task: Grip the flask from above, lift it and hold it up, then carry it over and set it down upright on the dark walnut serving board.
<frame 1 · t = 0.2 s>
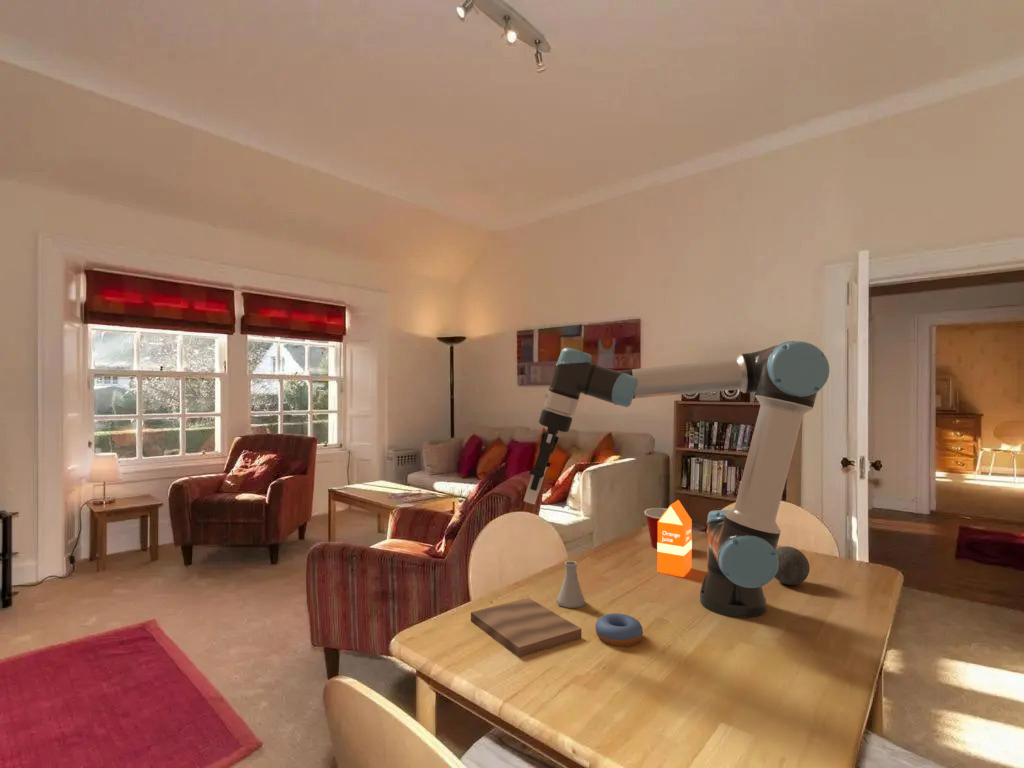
hand: (531, 496, 132), 27 cm above the table, tool tilted 15°, fingers open, 13 cm apart
orange juice: (674, 571, 160), on the table
flask: (571, 604, 136), on the table
walnut board: (524, 629, 121), on the table
doughnut: (618, 639, 117), on the table
decorative ball: (788, 584, 150), on the table
plastic cup: (660, 548, 183), on the table
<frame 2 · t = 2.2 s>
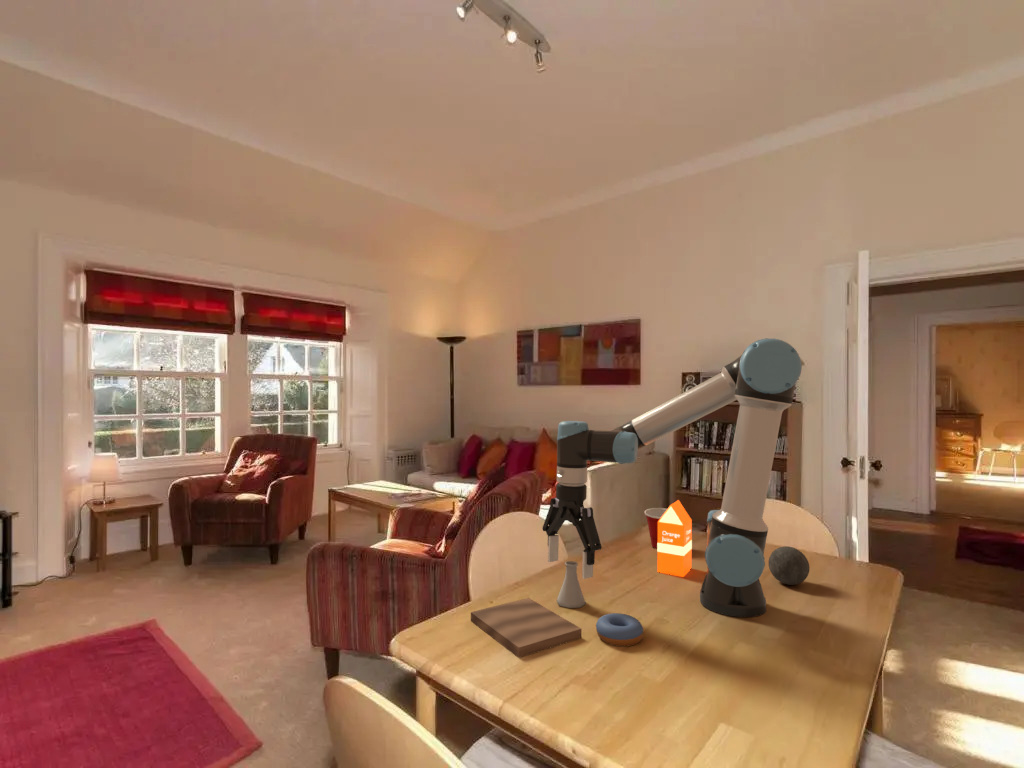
hand: (569, 569, 136), 8 cm above the table, tool pointing down, fingers open, 13 cm apart
nothing on the table moved.
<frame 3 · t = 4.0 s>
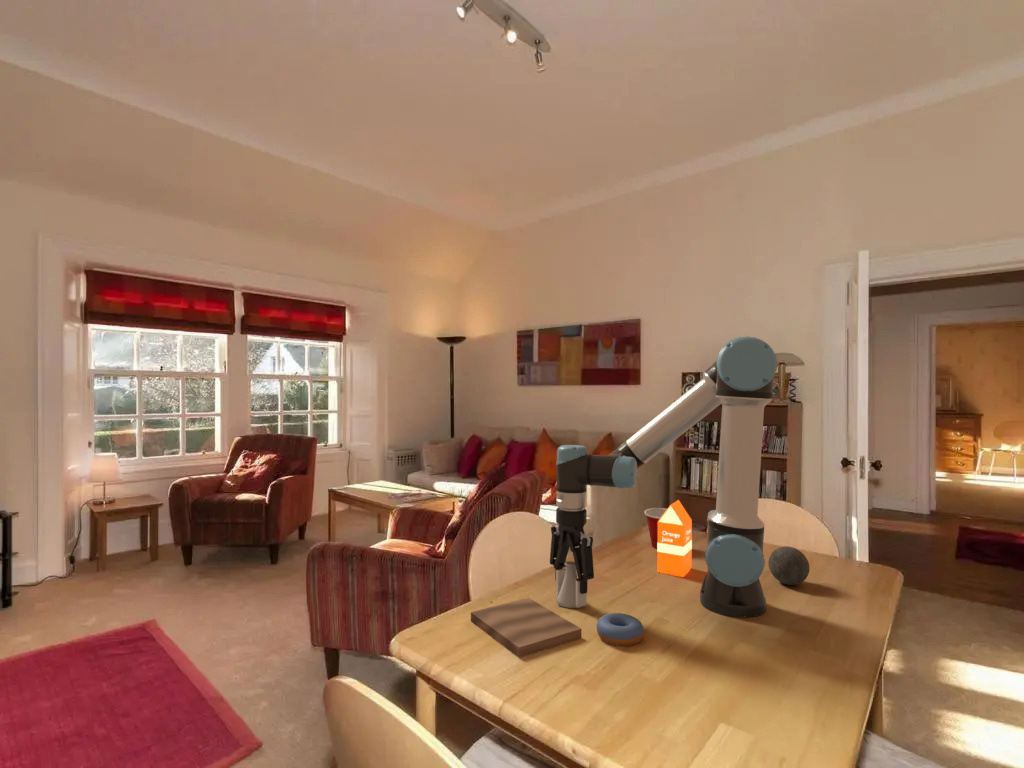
hand: (570, 600, 136), 1 cm above the table, tool pointing down, fingers closed on flask, 7 cm apart
flask: (570, 604, 136), on the table, touching gripper
everything else where it was.
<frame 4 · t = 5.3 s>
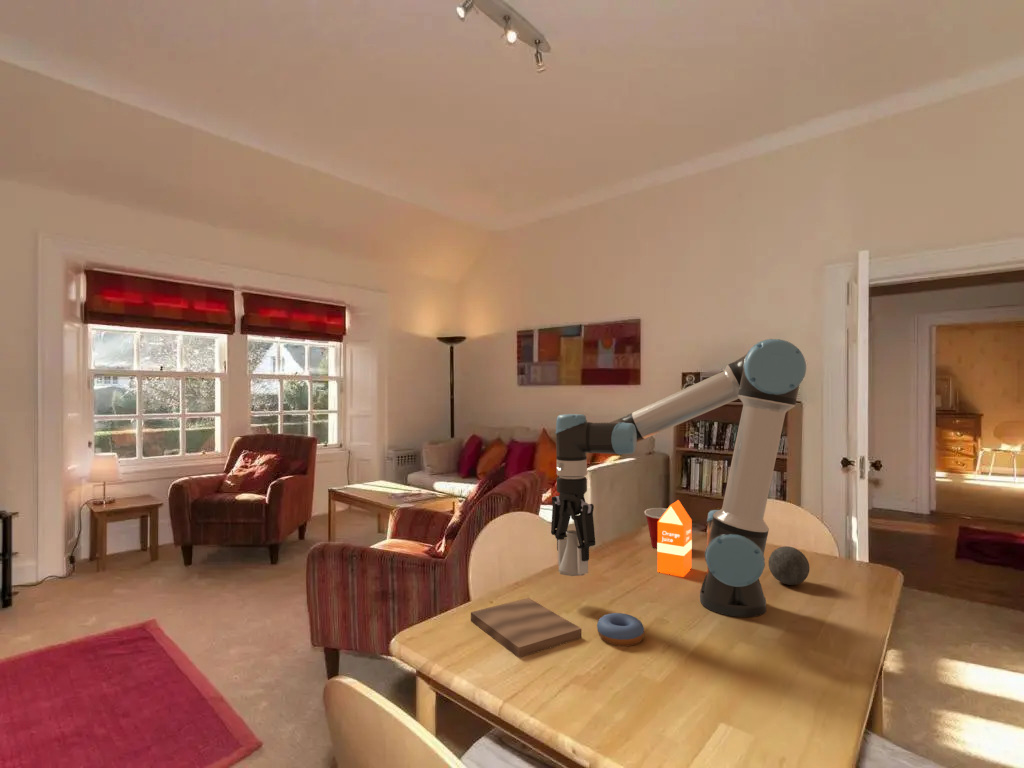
hand: (572, 569, 136), 8 cm above the table, tool pointing down, fingers closed on flask, 7 cm apart
flask: (572, 573, 136), point 7 cm above the table, touching gripper
everything else where it was.
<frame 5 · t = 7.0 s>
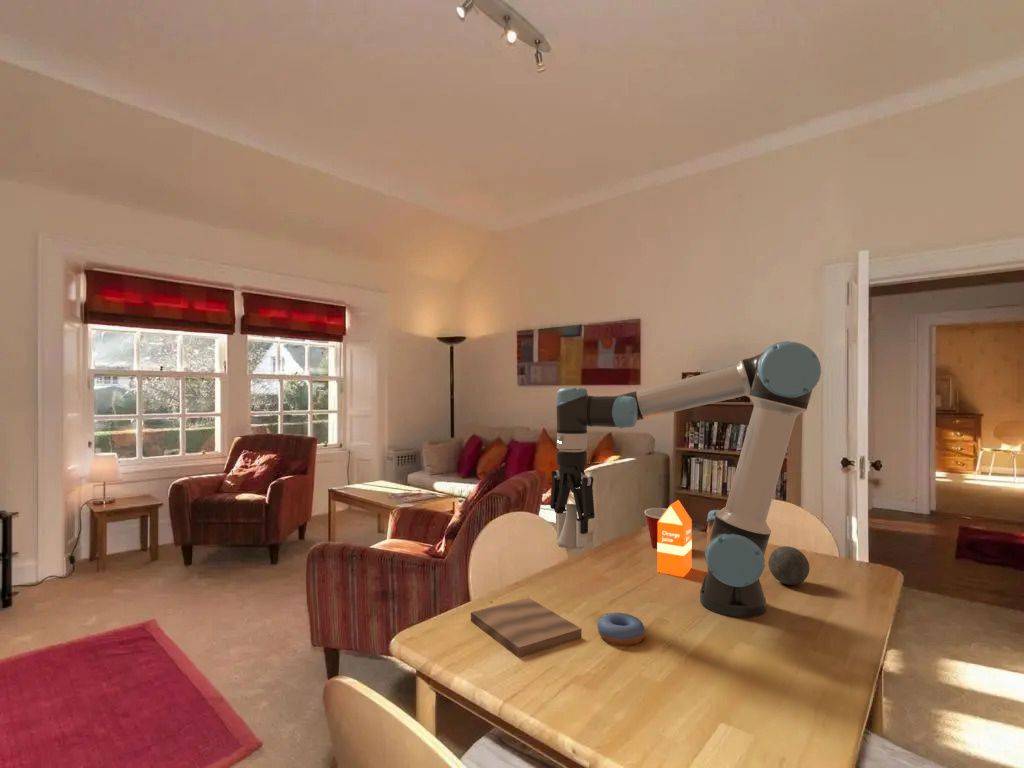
hand: (571, 542, 136), 15 cm above the table, tool pointing down, fingers closed on flask, 7 cm apart
flask: (571, 546, 136), point 14 cm above the table, touching gripper
everything else where it was.
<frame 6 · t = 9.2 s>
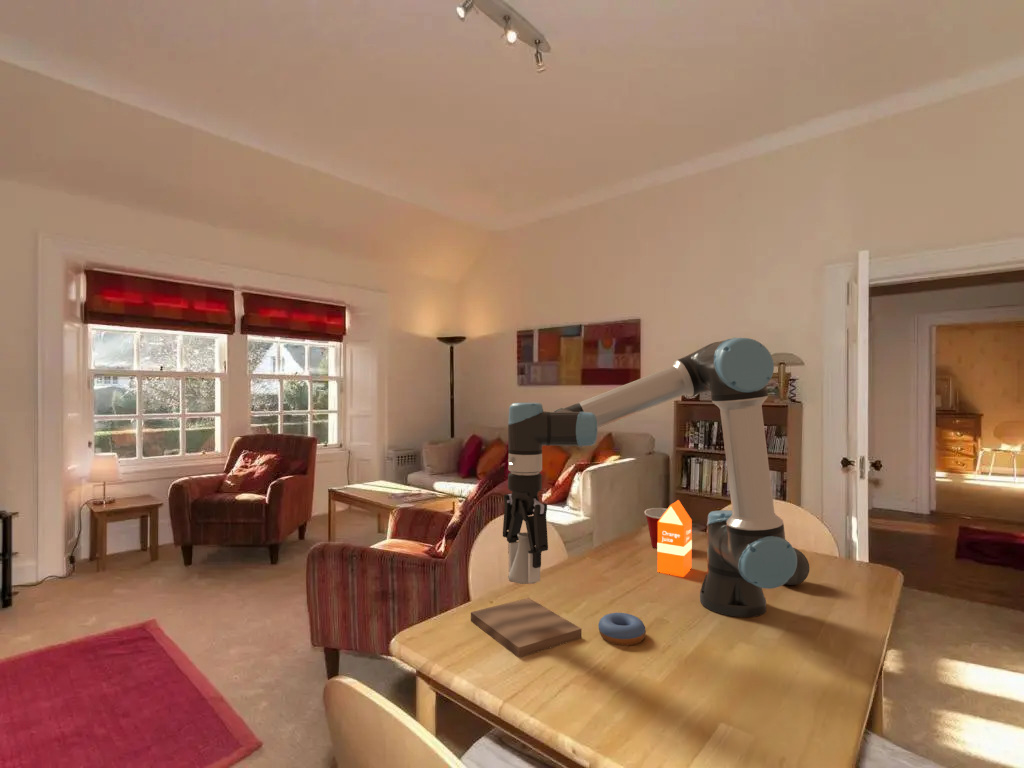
hand: (524, 576, 121), 12 cm above the table, tool pointing down, fingers closed on flask, 7 cm apart
flask: (524, 580, 121), point 11 cm above the table, touching gripper
everything else where it was.
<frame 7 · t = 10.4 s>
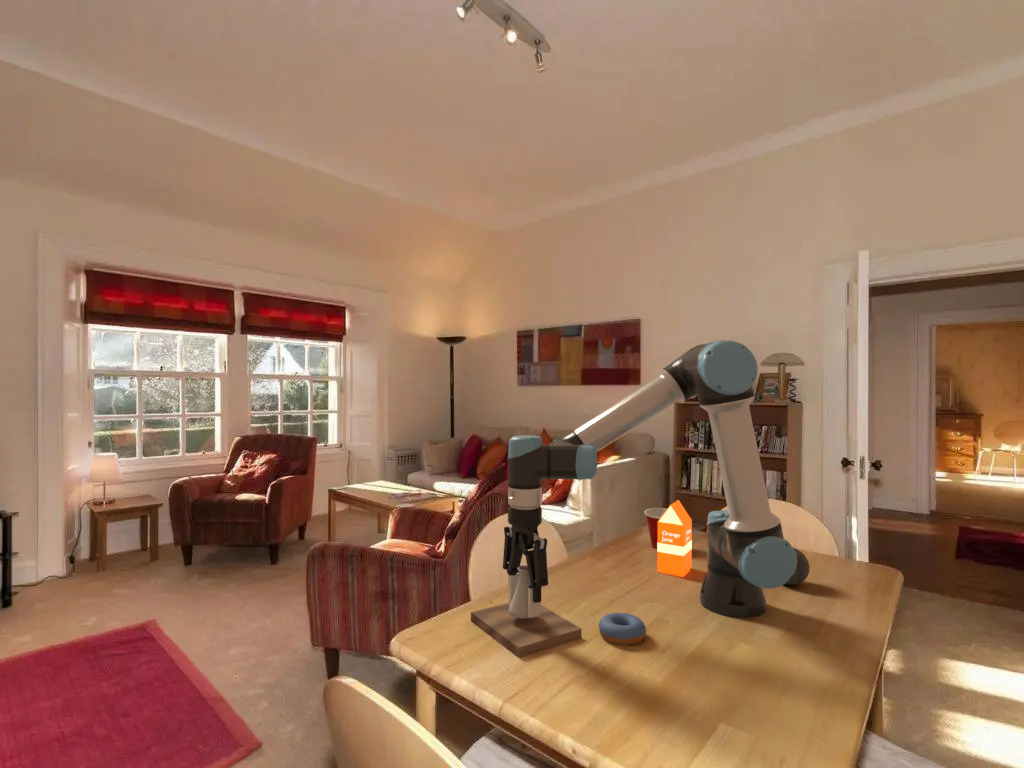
hand: (524, 609, 121), 4 cm above the table, tool pointing down, fingers closed on flask, 7 cm apart
flask: (524, 613, 121), point 3 cm above the table, touching gripper
everything else where it was.
when the fingers open (4 cm above the table, at t = 11.2 s): flask drops 1 cm, resting on walnut board.
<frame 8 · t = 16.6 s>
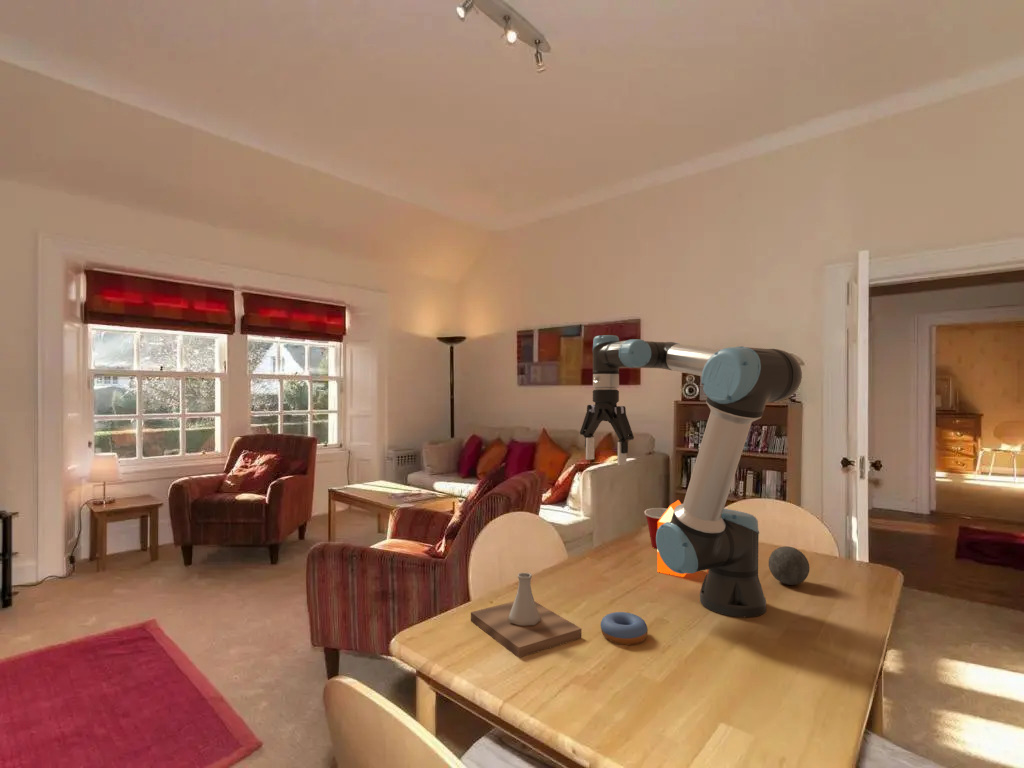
hand: (605, 462, 159), 32 cm above the table, tool pointing down, fingers open, 13 cm apart
flask: (524, 620, 121), point 2 cm above the table, touching walnut board
at the end: flask inside the target area on the walnut board (0.1 cm from its centre), point 1.8 cm above the walnut board's base; flask tilted 0°; the gripper is holding nothing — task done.
